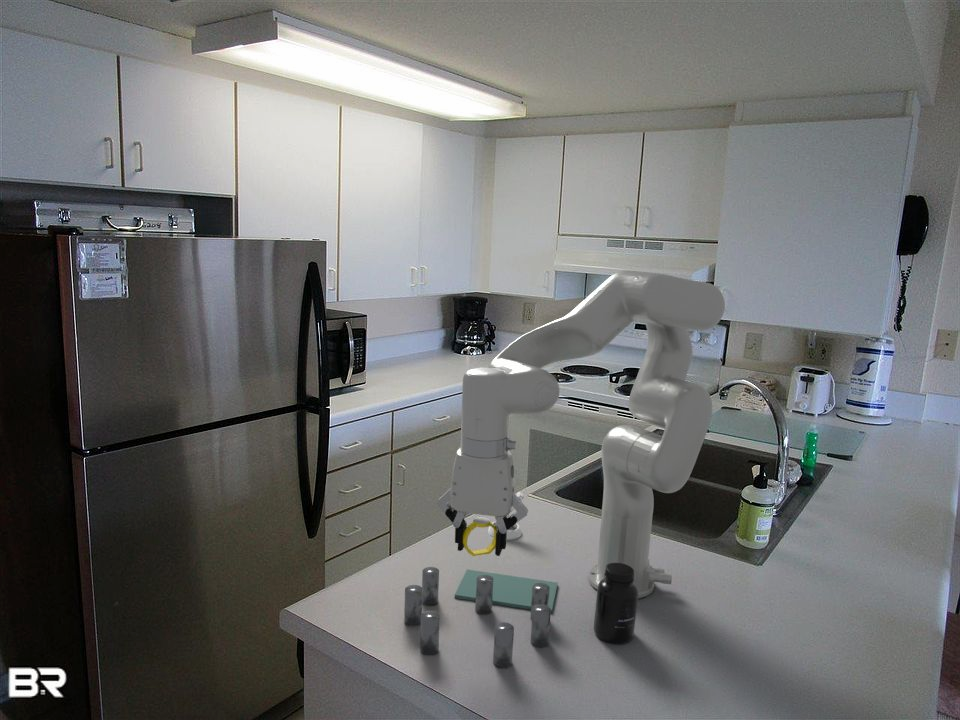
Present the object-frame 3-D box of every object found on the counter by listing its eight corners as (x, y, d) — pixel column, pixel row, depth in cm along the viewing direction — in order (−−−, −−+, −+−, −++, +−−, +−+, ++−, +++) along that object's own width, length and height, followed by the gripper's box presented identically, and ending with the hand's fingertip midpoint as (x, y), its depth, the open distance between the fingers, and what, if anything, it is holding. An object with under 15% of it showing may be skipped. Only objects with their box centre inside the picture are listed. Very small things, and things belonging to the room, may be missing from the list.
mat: (557, 585, 132) (557, 582, 132) (551, 612, 122) (551, 609, 122) (466, 572, 135) (467, 569, 135) (454, 597, 126) (454, 594, 126)
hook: (545, 520, 149) (521, 504, 147) (511, 556, 153) (486, 541, 150) (540, 500, 156) (516, 485, 154) (507, 535, 159) (483, 520, 157)
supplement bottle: (625, 650, 112) (631, 583, 110) (587, 636, 116) (592, 570, 113) (639, 631, 118) (645, 566, 116) (602, 618, 121) (607, 555, 119)
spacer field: (553, 616, 121) (556, 585, 120) (542, 675, 105) (544, 639, 104) (419, 595, 126) (420, 565, 125) (387, 648, 110) (388, 614, 109)
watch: (492, 548, 115) (496, 515, 114) (499, 556, 113) (502, 522, 112) (459, 551, 113) (462, 517, 112) (465, 559, 111) (468, 524, 110)
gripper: (540, 443, 111) (534, 546, 115) (438, 433, 115) (436, 533, 118) (534, 458, 104) (528, 567, 108) (425, 447, 108) (423, 553, 111)
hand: (480, 548), depth 113 cm, fingers closed on watch, 5 cm apart
